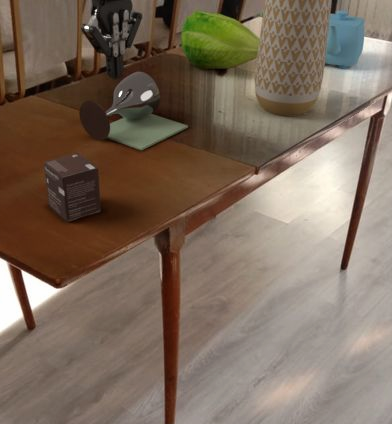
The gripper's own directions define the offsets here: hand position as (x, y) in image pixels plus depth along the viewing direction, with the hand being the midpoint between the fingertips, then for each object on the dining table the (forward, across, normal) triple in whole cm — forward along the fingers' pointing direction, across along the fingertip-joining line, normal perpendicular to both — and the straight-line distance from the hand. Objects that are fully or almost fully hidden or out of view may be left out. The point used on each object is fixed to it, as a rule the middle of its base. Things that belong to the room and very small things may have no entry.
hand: (115, 77), depth 109 cm
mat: (+11, -6, 0) cm, 13 cm away
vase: (+12, -35, +15) cm, 40 cm away
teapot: (+12, -69, +9) cm, 71 cm away
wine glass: (+8, +3, -3) cm, 9 cm away
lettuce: (+12, -46, -9) cm, 49 cm away
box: (+11, +24, +12) cm, 29 cm away
